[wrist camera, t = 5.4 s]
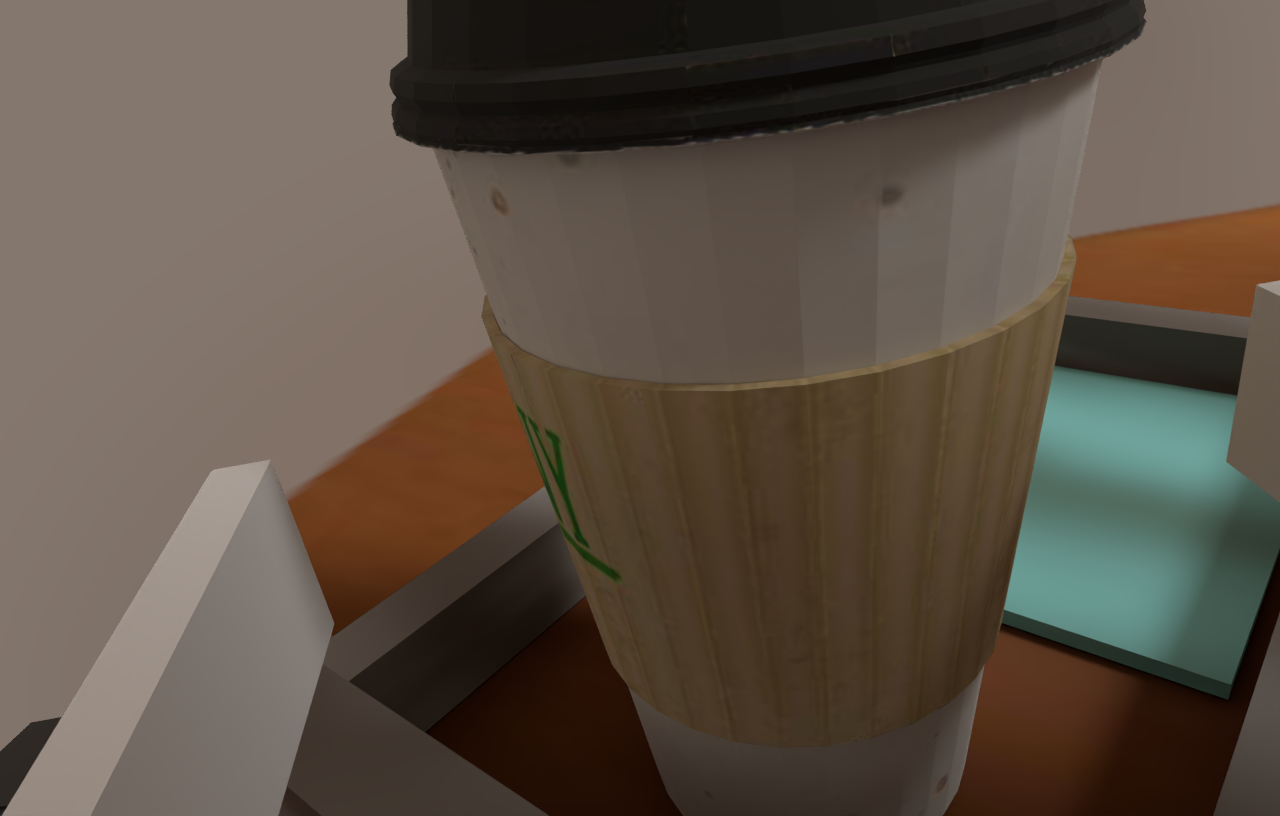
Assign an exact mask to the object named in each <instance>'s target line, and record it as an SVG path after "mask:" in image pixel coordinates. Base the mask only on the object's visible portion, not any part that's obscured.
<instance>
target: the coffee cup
mask: <svg viewBox="0 0 1280 816" xmlns="http://www.w3.org/2000/svg"><path fill="white" fill-rule="evenodd" d="M407 4H408V5H407V6H408V7H407V15H408V17H407V18H408V57H406V58H405V59H404V60H402V61H401V62H400V63H399V64H397V65H396V66H395V67H394V68H393V69H392V70H391V73H390V74H391V75H390V87H391V90H392V92H393V94H394V95H395V96H396V99H395V101H394V102H393V104H392V117H393V120H394V122H393V127H394V130H395V133H396V136H399V137H401V138H403V139H405V140H407V141H410V142H412V143H414V144H416V145H419V146H422V147H428V148H433V149H434V152H435V155H436V158H437V160H438V163H439V166H440V169H441V171H442V174H443V177H444V179H445V182H446V185H447V187H448V190H449V193H450V196H451V199H452V201H453V204H454V207H455V210H456V212H457V215H458V218H459V220H460V223H461V226H462V228H463V231H464V234H465V237H466V240H467V242H468V245H469V248H470V251H471V253H472V256H473V259H474V262H475V264H476V267H477V270H478V272H479V275H480V278H481V280H482V283H483V286H484V289H485V292H486V296H485V299H484V305H483V311H482V319H483V322H484V325H485V327H486V330H487V333H488V335H489V338H490V341H491V343H492V346H493V349H494V351H495V354H496V357H497V359H498V362H499V365H500V367H501V370H502V373H503V375H504V378H505V381H506V383H507V386H508V389H509V391H510V394H511V397H512V400H513V402H514V405H515V408H516V410H517V413H518V416H519V418H520V421H521V424H522V426H523V429H524V432H525V434H526V437H527V440H528V442H529V445H530V448H531V450H532V453H533V456H534V458H535V461H536V464H537V466H538V469H539V472H540V475H541V477H542V480H543V483H544V485H545V488H546V491H547V493H548V496H549V499H550V501H551V504H552V507H553V509H554V512H555V515H556V517H557V520H558V523H559V525H560V528H561V531H562V533H563V536H564V539H565V541H566V544H567V547H568V549H569V552H570V555H571V558H572V560H573V563H574V566H575V568H576V571H577V574H578V576H579V579H580V582H581V584H582V587H583V590H584V592H585V595H586V598H587V600H588V603H589V606H590V608H591V611H592V614H593V616H594V619H595V622H596V624H597V627H598V630H599V633H600V635H601V638H602V640H603V643H604V646H605V648H606V651H607V653H608V656H609V658H610V661H611V663H612V665H613V667H614V668H615V669H616V671H617V672H618V673H619V675H620V676H621V677H622V679H623V680H624V681H625V683H626V684H627V685H628V688H629V690H630V693H631V696H632V699H633V702H634V704H635V707H636V710H637V713H638V715H639V718H640V721H641V724H642V726H643V729H644V732H645V735H646V738H647V740H648V743H649V746H650V749H651V751H652V754H653V757H654V760H655V763H656V765H657V768H658V771H659V773H660V776H661V778H662V781H663V783H664V786H665V788H666V791H667V793H668V795H669V797H670V798H671V799H672V801H673V802H674V804H675V805H676V807H677V808H678V809H679V811H680V812H681V814H682V815H683V816H943V815H944V813H945V812H946V810H947V808H948V806H949V805H950V803H951V801H952V800H953V798H954V796H955V795H956V793H957V791H958V788H959V785H960V781H961V778H962V774H963V770H964V767H965V762H966V757H967V752H968V747H969V742H970V736H971V731H972V726H973V721H974V716H975V711H976V705H977V700H978V695H979V690H980V685H981V680H982V674H983V669H984V665H985V663H986V662H987V660H988V659H989V657H990V656H991V654H992V653H993V651H994V647H995V644H996V640H997V637H998V633H999V629H1000V626H1001V622H1002V617H1003V612H1004V607H1005V603H1006V598H1007V593H1008V588H1009V583H1010V578H1011V574H1012V569H1013V564H1014V559H1015V554H1016V549H1017V545H1018V540H1019V535H1020V530H1021V525H1022V520H1023V516H1024V511H1025V506H1026V501H1027V496H1028V491H1029V487H1030V482H1031V477H1032V472H1033V467H1034V462H1035V458H1036V453H1037V448H1038V443H1039V438H1040V433H1041V428H1042V424H1043V419H1044V414H1045V409H1046V404H1047V399H1048V395H1049V390H1050V385H1051V380H1052V375H1053V370H1054V366H1055V361H1056V356H1057V351H1058V346H1059V341H1060V337H1061V332H1062V327H1063V322H1064V317H1065V312H1066V308H1067V303H1068V298H1069V293H1070V288H1071V283H1072V279H1073V274H1074V269H1075V264H1076V259H1077V256H1076V253H1075V249H1074V246H1073V242H1072V238H1071V236H1070V235H1069V234H1068V231H1069V226H1070V221H1071V216H1072V211H1073V206H1074V201H1075V196H1076V191H1077V185H1078V181H1079V176H1080V171H1081V166H1082V161H1083V156H1084V151H1085V146H1086V141H1087V136H1088V131H1089V126H1090V121H1091V116H1092V111H1093V106H1094V101H1095V95H1096V90H1097V85H1098V80H1099V75H1100V70H1101V65H1102V60H1103V58H1106V57H1109V56H1111V55H1112V54H1114V53H1115V52H1117V51H1119V50H1120V49H1122V48H1123V47H1125V46H1126V45H1128V44H1129V43H1131V42H1133V41H1134V40H1136V39H1137V38H1139V37H1140V36H1141V35H1142V33H1143V30H1144V28H1145V25H1146V23H1147V22H1146V20H1145V19H1144V18H1143V17H1144V14H1145V12H1146V9H1145V4H1144V0H408V1H407Z"/></svg>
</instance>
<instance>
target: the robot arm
mask: <svg viewBox="0 0 1280 816" xmlns="http://www.w3.org/2000/svg"><path fill="white" fill-rule="evenodd" d="M1226 462H1227V463H1228V464H1230V465H1231V466H1232V467H1234V468H1235V469H1236V470H1238V471H1239V472H1240V473H1242V474H1243V475H1244V476H1246V477H1247V478H1248V479H1250V480H1251V481H1252V482H1253V483H1255V484H1256V485H1257V486H1259V487H1260V488H1261V489H1263V490H1264V491H1265V492H1267V493H1268V494H1269V495H1271V496H1272V497H1273V498H1275V499H1276V500H1277V501H1279V502H1280V281H1275V282H1269V283H1263V284H1258V285H1256V290H1255V296H1254V302H1253V308H1252V314H1251V319H1250V325H1249V331H1248V337H1247V343H1246V348H1245V354H1244V360H1243V366H1242V372H1241V378H1240V383H1239V389H1238V395H1237V401H1236V407H1235V413H1234V418H1233V424H1232V430H1231V436H1230V442H1229V447H1228V453H1227V459H1226ZM333 627H334V621H333V618H332V616H331V613H330V611H329V608H328V606H327V603H326V600H325V598H324V595H323V593H322V590H321V587H320V585H319V582H318V580H317V577H316V574H315V572H314V569H313V567H312V564H311V562H310V559H309V556H308V554H307V551H306V549H305V546H304V543H303V541H302V538H301V536H300V533H299V531H298V528H297V525H296V523H295V520H294V518H293V515H292V512H291V510H290V507H289V505H288V502H287V499H286V497H285V494H284V492H283V489H282V487H281V484H280V481H279V479H278V476H277V474H276V471H275V469H274V466H273V463H272V461H271V460H266V461H260V462H255V463H249V464H243V465H238V466H233V467H227V468H221V469H216V470H212V471H211V473H210V474H209V476H208V478H207V479H206V481H205V483H204V484H203V486H202V488H201V489H200V491H199V492H198V494H197V496H196V498H195V499H194V501H193V502H192V504H191V506H190V507H189V509H188V511H187V512H186V514H185V516H184V517H183V519H182V520H181V522H180V524H179V526H178V527H177V529H176V530H175V532H174V534H173V535H172V537H171V538H170V540H169V542H168V543H167V545H166V547H165V549H164V550H163V552H162V553H161V555H160V557H159V558H158V560H157V561H156V563H155V565H154V566H153V568H152V570H151V571H150V573H149V575H148V576H147V578H146V580H145V581H144V583H143V585H142V586H141V588H140V590H139V591H138V593H137V594H136V596H135V598H134V599H133V601H132V603H131V604H130V606H129V608H128V609H127V611H126V612H125V614H124V616H123V617H122V619H121V621H120V622H119V624H118V626H117V627H116V629H115V631H114V632H113V634H112V635H111V637H110V639H109V641H108V642H107V644H106V645H105V647H104V649H103V650H102V652H101V654H100V655H99V657H98V659H97V660H96V662H95V664H94V665H93V667H92V668H91V670H90V672H89V673H88V675H87V677H86V678H85V680H84V682H83V683H82V685H81V687H80V688H79V690H78V691H77V693H76V695H75V696H74V698H73V700H72V701H71V703H70V705H69V706H68V708H67V710H66V711H65V713H64V714H63V716H62V717H60V718H55V719H50V720H43V721H38V722H32V723H30V725H28V726H27V727H26V728H25V729H24V730H23V731H22V732H21V733H20V734H19V735H17V736H16V737H15V738H14V739H13V740H12V741H11V742H10V743H9V744H8V745H7V746H6V747H5V748H4V749H2V750H1V751H0V816H278V815H279V811H280V808H281V804H282V801H283V798H284V794H285V791H286V787H287V784H288V780H289V777H290V774H291V770H292V767H293V763H294V760H295V757H296V753H297V750H298V746H299V743H300V740H301V736H302V733H303V729H304V726H305V723H306V719H307V716H308V712H309V709H310V705H311V702H312V699H313V695H314V692H315V688H316V685H317V682H318V678H319V675H320V671H321V668H322V665H323V661H324V658H325V654H326V651H327V648H328V644H329V641H330V637H331V634H332V630H333Z"/></svg>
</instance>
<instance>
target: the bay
mask: <svg viewBox="0 0 1280 816" xmlns="http://www.w3.org/2000/svg"><path fill="white" fill-rule="evenodd" d="M1250 319H1251V318H1250V317H1242V316H1233V315H1225V314H1216V313H1208V312H1199V311H1191V310H1182V309H1174V308H1165V307H1157V306H1148V305H1140V304H1132V303H1123V302H1115V301H1106V300H1098V299H1089V298H1081V297H1072V296H1069V298H1068V303H1067V308H1066V312H1065V317H1064V322H1063V327H1062V332H1061V337H1060V341H1059V346H1058V351H1057V356H1056V361H1055V366H1054V370H1053V375H1052V380H1051V385H1050V390H1049V395H1048V399H1047V404H1046V409H1045V414H1044V419H1043V424H1042V428H1041V433H1040V438H1039V443H1038V448H1037V453H1036V458H1035V462H1034V467H1033V472H1032V477H1031V482H1030V487H1029V491H1028V496H1027V501H1026V506H1025V511H1024V516H1023V520H1022V525H1021V530H1020V535H1019V540H1018V545H1017V549H1016V554H1015V559H1014V564H1013V569H1012V574H1011V578H1010V583H1009V588H1008V593H1007V598H1006V603H1005V607H1004V612H1003V617H1002V622H1001V623H1004V624H1007V625H1009V626H1012V627H1015V628H1018V629H1021V630H1024V631H1027V632H1030V633H1033V634H1036V635H1039V636H1042V637H1045V638H1048V639H1051V640H1054V641H1056V642H1059V643H1062V644H1065V645H1068V646H1071V647H1074V648H1077V649H1080V650H1083V651H1086V652H1089V653H1092V654H1095V655H1098V656H1101V657H1104V658H1106V659H1109V660H1112V661H1115V662H1118V663H1121V664H1124V665H1127V666H1130V667H1133V668H1136V669H1139V670H1142V671H1145V672H1148V673H1151V674H1153V675H1156V676H1159V677H1162V678H1165V679H1168V680H1171V681H1174V682H1177V683H1180V684H1183V685H1186V686H1189V687H1192V688H1195V689H1198V690H1200V691H1203V692H1206V693H1209V694H1212V695H1215V696H1218V697H1221V698H1224V699H1227V700H1228V699H1229V696H1230V693H1231V691H1232V688H1233V685H1234V682H1235V679H1236V676H1237V674H1238V671H1239V668H1240V665H1241V662H1242V659H1243V657H1244V654H1245V651H1246V648H1247V645H1248V642H1249V640H1250V637H1251V634H1252V631H1253V628H1254V625H1255V623H1256V620H1257V617H1258V614H1259V611H1260V608H1261V605H1262V603H1263V600H1264V597H1265V594H1266V591H1267V588H1268V586H1269V583H1270V580H1271V577H1272V574H1273V571H1274V569H1275V566H1276V563H1277V560H1278V557H1279V554H1280V502H1279V501H1277V500H1276V499H1275V498H1273V497H1272V496H1271V495H1269V494H1268V493H1267V492H1265V491H1264V490H1263V489H1261V488H1260V487H1259V486H1257V485H1256V484H1255V483H1253V482H1252V481H1251V480H1250V479H1248V478H1247V477H1246V476H1244V475H1243V474H1242V473H1240V472H1239V471H1238V470H1236V469H1235V468H1234V467H1232V466H1231V465H1230V464H1228V463H1227V462H1226V459H1227V453H1228V447H1229V442H1230V436H1231V430H1232V424H1233V418H1234V413H1235V407H1236V401H1237V395H1238V389H1239V383H1240V378H1241V372H1242V366H1243V360H1244V354H1245V348H1246V343H1247V337H1248V331H1249V325H1250ZM585 596H586V595H585V592H584V590H583V587H582V584H581V582H580V579H579V576H578V574H577V571H576V568H575V566H574V563H573V560H572V558H571V555H570V552H569V549H568V547H567V544H566V541H565V539H564V536H563V533H562V531H561V528H560V525H559V523H558V520H557V517H556V515H555V512H554V509H553V507H552V504H551V501H550V499H549V496H548V493H547V491H546V488H545V487H543V488H542V489H540V490H539V491H537V492H536V493H535V494H533V495H532V496H530V497H529V498H528V499H526V500H525V501H523V502H522V503H521V504H519V505H518V506H516V507H515V508H513V509H512V510H511V511H509V512H508V513H506V514H505V515H504V516H502V517H501V518H499V519H498V520H497V521H495V522H494V523H492V524H491V525H489V526H488V527H487V528H485V529H484V530H482V531H481V532H480V533H478V534H477V535H475V536H474V537H473V538H471V539H470V540H468V541H467V542H465V543H464V544H463V545H461V546H460V547H458V548H457V549H456V550H454V551H453V552H451V553H450V554H449V555H447V556H446V557H444V558H443V559H441V560H440V561H439V562H437V563H436V564H434V565H433V566H432V567H430V568H429V569H427V570H426V571H425V572H423V573H422V574H420V575H419V576H417V577H416V578H415V579H413V580H412V581H410V582H409V583H408V584H406V585H405V586H403V587H402V588H401V589H399V590H398V591H396V592H395V593H393V594H392V595H391V596H389V597H388V598H386V599H385V600H384V601H382V602H381V603H379V604H378V605H377V606H375V607H374V608H372V609H371V610H369V611H368V612H367V613H365V614H364V615H362V616H361V617H360V618H358V619H357V620H355V621H354V622H353V623H351V624H350V625H348V626H347V627H345V628H344V629H343V630H341V631H340V632H338V633H337V634H336V635H334V636H333V637H331V638H330V641H329V644H328V648H327V651H326V654H325V658H324V661H323V665H322V668H321V671H320V675H319V678H318V682H317V685H316V688H315V692H314V695H313V699H312V702H311V705H310V709H309V712H308V716H307V719H306V723H305V726H304V729H303V733H302V736H301V740H300V743H299V746H298V750H297V753H296V757H295V760H294V763H293V767H292V770H291V774H290V777H289V780H288V784H287V787H286V791H285V794H284V798H283V801H282V804H281V808H280V811H279V815H278V816H549V815H547V814H546V813H544V812H543V811H541V810H540V809H538V808H537V807H535V806H534V805H533V804H531V803H530V802H528V801H527V800H525V799H524V798H522V797H521V796H519V795H518V794H516V793H515V792H513V791H512V790H510V789H509V788H507V787H506V786H504V785H503V784H501V783H500V782H498V781H497V780H495V779H494V778H492V777H491V776H489V775H488V774H486V773H485V772H483V771H482V770H480V769H479V768H477V767H476V766H474V765H473V764H471V763H470V762H468V761H467V760H465V759H464V758H462V757H461V756H459V755H458V754H456V753H455V752H453V751H452V750H450V749H449V748H447V747H446V746H444V745H443V744H441V743H440V742H438V741H437V740H435V739H434V738H432V737H431V736H429V735H428V734H426V733H425V732H426V731H427V730H428V729H430V728H431V727H432V726H433V725H434V724H435V723H437V722H438V721H439V720H440V719H441V718H442V717H444V716H445V715H446V714H447V713H448V712H450V711H451V710H452V709H453V708H454V707H455V706H457V705H458V704H459V703H460V702H461V701H462V700H464V699H465V698H466V697H467V696H468V695H470V694H471V693H472V692H473V691H474V690H475V689H477V688H478V687H479V686H480V685H481V684H482V683H484V682H485V681H486V680H487V679H488V678H489V677H491V676H492V675H493V674H494V673H495V672H497V671H498V670H499V669H500V668H501V667H502V666H504V665H505V664H506V663H507V662H508V661H509V660H511V659H512V658H513V657H514V656H515V655H517V654H518V653H519V652H520V651H521V650H522V649H524V648H525V647H526V646H527V645H528V644H529V643H531V642H532V641H533V640H534V639H535V638H537V637H538V636H539V635H540V634H541V633H542V632H544V631H545V630H546V629H547V628H548V627H549V626H551V625H552V624H553V623H554V622H555V621H556V620H558V619H559V618H560V617H561V616H562V615H564V614H565V613H566V612H567V611H568V610H569V609H571V608H572V607H573V606H574V605H575V604H576V603H578V602H579V601H580V600H581V599H582V598H584V597H585ZM1213 816H1280V613H1279V616H1278V619H1277V622H1276V625H1275V628H1274V632H1273V635H1272V638H1271V641H1270V644H1269V647H1268V650H1267V653H1266V656H1265V659H1264V662H1263V665H1262V668H1261V671H1260V674H1259V677H1258V680H1257V683H1256V686H1255V689H1254V693H1253V696H1252V699H1251V702H1250V705H1249V708H1248V711H1247V714H1246V717H1245V720H1244V723H1243V726H1242V729H1241V732H1240V735H1239V738H1238V741H1237V744H1236V747H1235V750H1234V753H1233V757H1232V760H1231V763H1230V766H1229V769H1228V772H1227V775H1226V778H1225V781H1224V784H1223V787H1222V790H1221V793H1220V796H1219V799H1218V802H1217V805H1216V808H1215V811H1214V814H1213Z"/></svg>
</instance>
